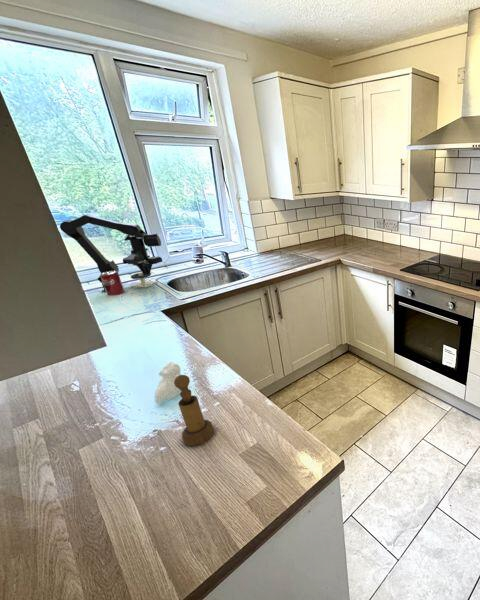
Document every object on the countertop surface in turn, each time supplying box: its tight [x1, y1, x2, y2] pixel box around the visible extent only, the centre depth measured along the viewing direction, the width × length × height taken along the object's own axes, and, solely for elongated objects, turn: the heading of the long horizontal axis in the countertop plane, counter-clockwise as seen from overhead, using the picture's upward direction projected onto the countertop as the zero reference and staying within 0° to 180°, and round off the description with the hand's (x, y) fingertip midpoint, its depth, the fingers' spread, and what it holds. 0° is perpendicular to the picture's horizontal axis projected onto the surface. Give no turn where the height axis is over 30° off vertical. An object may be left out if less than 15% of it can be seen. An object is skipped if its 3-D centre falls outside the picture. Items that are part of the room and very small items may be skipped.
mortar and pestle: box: [174, 374, 214, 447], centre depth 79 cm, size 7×6×18 cm
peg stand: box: [129, 271, 158, 288], centre depth 185 cm, size 9×9×8 cm
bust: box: [154, 361, 182, 405], centre depth 96 cm, size 12×8×11 cm
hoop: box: [130, 271, 152, 280], centre depth 184 cm, size 9×9×2 cm
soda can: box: [99, 271, 126, 296], centre depth 172 cm, size 7×7×12 cm
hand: (147, 274), depth 184 cm, fingers closed on hoop, 1 cm apart
